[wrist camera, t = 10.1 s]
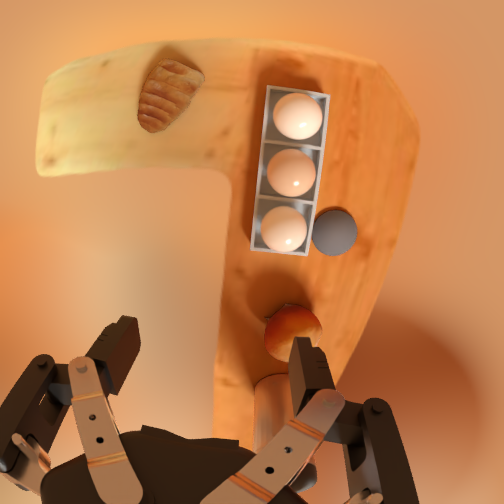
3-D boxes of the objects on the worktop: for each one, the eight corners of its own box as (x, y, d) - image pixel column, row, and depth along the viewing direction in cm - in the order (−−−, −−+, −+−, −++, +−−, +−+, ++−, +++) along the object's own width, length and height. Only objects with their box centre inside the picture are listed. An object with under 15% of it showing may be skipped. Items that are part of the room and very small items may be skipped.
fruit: (278, 285, 35) (309, 333, 30) (310, 296, 41) (339, 336, 35) (241, 324, 38) (264, 371, 32) (276, 329, 43) (299, 369, 38)
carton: (304, 249, 35) (307, 256, 33) (250, 243, 35) (249, 250, 33) (325, 98, 28) (330, 94, 26) (266, 89, 28) (267, 85, 25)
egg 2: (299, 245, 34) (306, 262, 29) (258, 240, 34) (257, 257, 29) (306, 204, 32) (314, 215, 27) (262, 199, 32) (263, 209, 27)
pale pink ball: (313, 152, 30) (323, 153, 25) (307, 195, 31) (316, 204, 27) (268, 146, 30) (270, 145, 25) (264, 189, 31) (264, 197, 27)
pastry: (173, 141, 30) (162, 141, 27) (130, 121, 29) (116, 120, 26) (210, 76, 27) (204, 67, 24) (165, 58, 26) (154, 49, 23)
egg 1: (314, 143, 29) (324, 143, 24) (269, 137, 29) (271, 135, 24) (319, 101, 27) (329, 93, 22) (274, 94, 27) (276, 84, 22)
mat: (350, 256, 35) (351, 257, 35) (308, 252, 35) (308, 253, 35) (360, 213, 33) (361, 214, 32) (315, 206, 33) (316, 207, 32)
